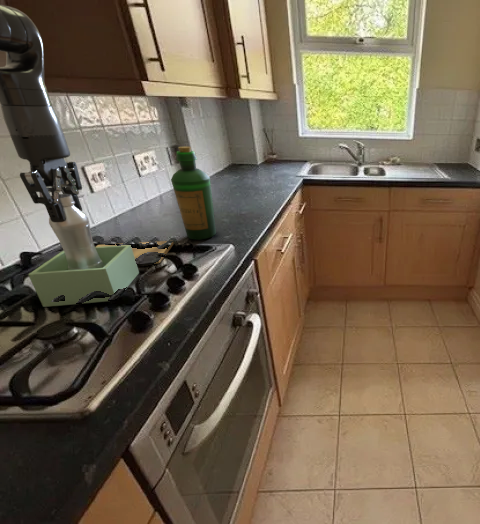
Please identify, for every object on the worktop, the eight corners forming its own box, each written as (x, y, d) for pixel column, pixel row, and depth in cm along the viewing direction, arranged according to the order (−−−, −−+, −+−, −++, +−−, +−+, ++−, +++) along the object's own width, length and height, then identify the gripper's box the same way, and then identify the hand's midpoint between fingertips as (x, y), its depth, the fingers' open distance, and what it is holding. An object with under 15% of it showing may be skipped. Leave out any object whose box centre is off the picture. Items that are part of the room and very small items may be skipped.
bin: (43, 307, 70) (27, 274, 67) (77, 277, 82) (65, 248, 78) (116, 300, 73) (105, 268, 70) (139, 272, 85) (130, 244, 82)
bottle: (177, 237, 108) (156, 146, 96) (207, 228, 116) (191, 144, 104) (196, 244, 103) (176, 150, 91) (226, 235, 111) (211, 147, 99)
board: (73, 269, 86) (72, 265, 85) (99, 248, 98) (98, 244, 97) (159, 263, 90) (158, 259, 90) (173, 244, 102) (172, 240, 102)
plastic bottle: (87, 290, 73) (53, 201, 64) (66, 284, 75) (30, 197, 66) (116, 277, 78) (88, 194, 70) (95, 272, 80) (66, 190, 72)
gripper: (37, 128, 68) (66, 208, 75) (-18, 134, 56) (23, 229, 63) (80, 129, 70) (104, 207, 77) (36, 135, 57) (70, 227, 65)
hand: (68, 216), depth 70 cm, fingers closed on plastic bottle, 6 cm apart
